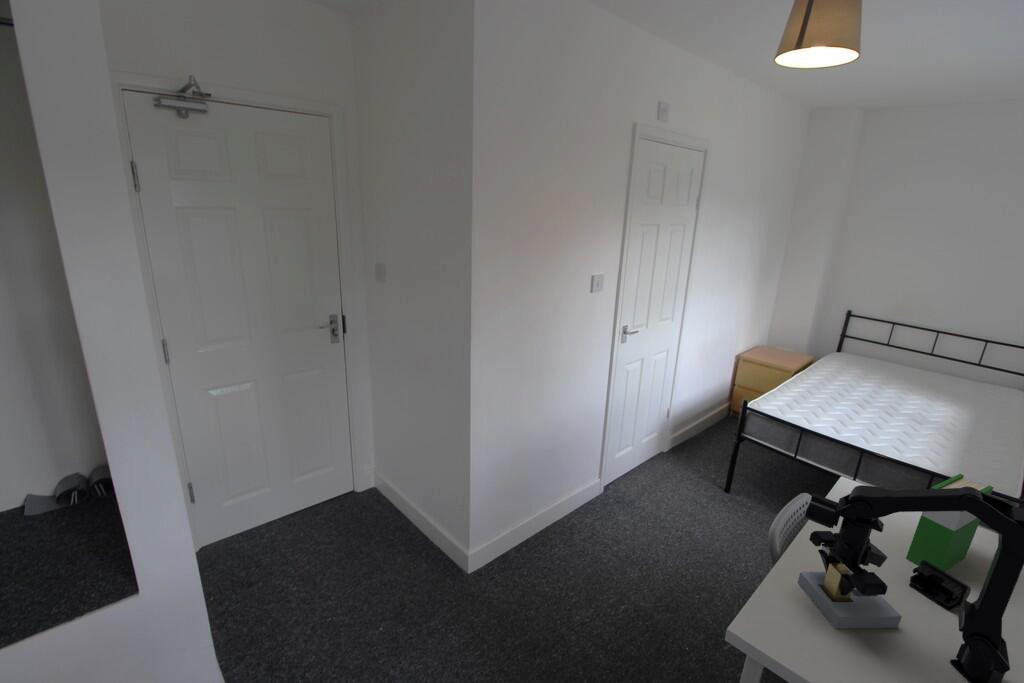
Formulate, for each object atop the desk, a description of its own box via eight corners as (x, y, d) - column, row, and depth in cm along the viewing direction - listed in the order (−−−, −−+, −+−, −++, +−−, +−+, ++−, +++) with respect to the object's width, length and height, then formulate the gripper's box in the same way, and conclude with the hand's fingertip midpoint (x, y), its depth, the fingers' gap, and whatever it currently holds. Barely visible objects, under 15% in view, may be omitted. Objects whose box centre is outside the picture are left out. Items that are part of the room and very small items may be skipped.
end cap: (965, 605, 121) (974, 583, 119) (950, 613, 119) (959, 591, 117) (920, 577, 130) (928, 557, 128) (905, 584, 127) (913, 563, 125)
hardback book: (934, 541, 145) (960, 473, 138) (965, 557, 139) (993, 487, 132) (905, 558, 137) (931, 487, 130) (936, 576, 131) (965, 502, 124)
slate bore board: (897, 627, 113) (901, 616, 112) (834, 628, 112) (838, 616, 111) (853, 582, 127) (857, 571, 126) (797, 582, 126) (800, 571, 125)
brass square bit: (847, 604, 117) (856, 575, 114) (832, 604, 117) (841, 575, 114) (835, 591, 121) (844, 562, 118) (821, 591, 120) (829, 562, 118)
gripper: (918, 565, 105) (898, 619, 109) (855, 511, 123) (840, 560, 127) (871, 565, 104) (853, 620, 109) (815, 511, 122) (801, 560, 127)
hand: (837, 588), depth 118 cm, fingers closed on brass square bit, 4 cm apart
